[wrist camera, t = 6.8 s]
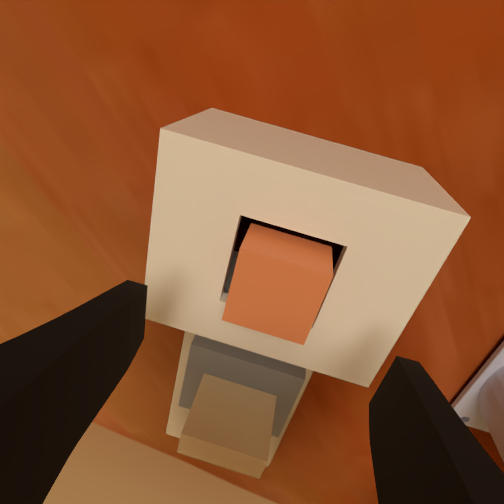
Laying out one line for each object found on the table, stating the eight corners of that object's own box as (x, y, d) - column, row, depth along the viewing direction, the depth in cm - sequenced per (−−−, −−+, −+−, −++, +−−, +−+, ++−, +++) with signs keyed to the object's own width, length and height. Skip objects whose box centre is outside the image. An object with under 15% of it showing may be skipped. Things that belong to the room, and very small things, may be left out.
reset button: (331, 246, 13) (333, 275, 11) (306, 310, 14) (303, 345, 12) (251, 222, 13) (240, 248, 11) (234, 288, 14) (221, 319, 12)
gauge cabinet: (431, 169, 16) (484, 221, 11) (363, 304, 20) (377, 390, 15) (211, 107, 16) (160, 128, 11) (187, 252, 20) (141, 317, 15)
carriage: (307, 345, 20) (301, 445, 15) (282, 401, 22) (270, 504, 17) (205, 313, 20) (163, 401, 15) (192, 372, 22) (152, 466, 17)
